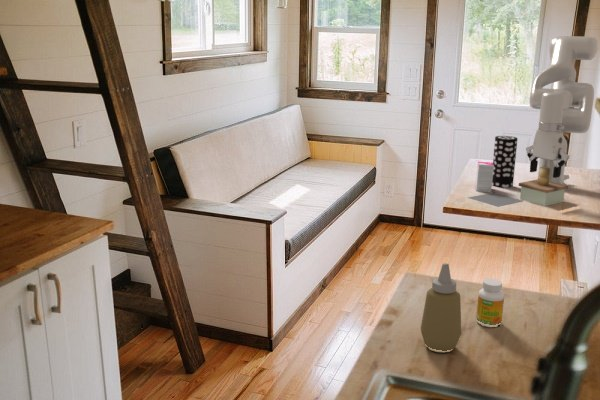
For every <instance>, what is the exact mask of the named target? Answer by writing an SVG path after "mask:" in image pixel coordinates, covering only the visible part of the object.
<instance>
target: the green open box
mask: <svg viewBox="0 0 600 400" xmlns="http://www.w3.org/2000/svg"><path fill="white" fill-rule="evenodd" d="M565 191H566V189H563V190H559V191H554V192H549V193H545V192H541V191H537V190H533V189H529V188H525V187H521V186H520V197H519V200H522V201H523V202H524V201H525V202H528V203H532V204H535V205H540V206H543V207H548V206H552V205H555V204H560V203H564V200H565Z"/></svg>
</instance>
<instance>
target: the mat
mask: <svg viewBox="0 0 600 400" xmlns="http://www.w3.org/2000/svg"><path fill="white" fill-rule="evenodd" d="M467 199H470V200H474V201H478V202H481V203H484V204H487V205H491V206H495V207H497V208H498V207H503V206H508V205H511V204H512V205H513V204H517V203H521V202H523V200H521V199H520V198H519V199H518V198H515V197H511V196H508V195H503V194H501V193H496V192H487V193H483V194H479V195H473V196H469V197H467Z"/></svg>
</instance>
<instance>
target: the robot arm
mask: <svg viewBox="0 0 600 400" xmlns="http://www.w3.org/2000/svg"><path fill="white" fill-rule="evenodd" d="M598 48H599V44H598V40H597V38H596V37H595V36H582V35H581V36H580V35H579V36H575V35H574V36H573V35H570V36H569V35H567V36H566V35H564V36H563V35H562V36H556V37H554V38H552V39H551V40H550V42H549V59H550V63H549V67H546V68H545V69H544V70H543V71H541V72H540V73H539V74H538V75H537V76H536V77H535V78H534V81H533V82H532V86H531V88H530V89H531V91H530V95H529V104H530V107H531V108H532V109H535V110H540V112H539V119H538V120H539V121H538V128H537V129H536V132H535V134H534V138H533V145H529V146H527V147H525V150H526V155H527V158H528V159H529V162H530V166H529V172H530V173H536V172H537V171H538V173H537V179H539V171H540V167H548V168H550V177H549V181H550V182H555V183H559V184H563V185H567V183H565V182H564V181H566V180H569V179H570V175H569V174H565V167H566V164H567V162H568V160H569V159H570V155H569V154H567V151H568V141H567V139H566V138H565V136H564V133H570V134H586V133H588V131H589V129H590V127H591V120H592V113H593V106H594V98H595V88H594V87H593V85H592V84H591V83H587V82H576V78H577V71H576V70H577V69H576V68H575V63H576V60H579V61H580V60H581V61H592V60H593V59H594V58H595V57H596V54H597V52H598ZM549 85H550V88H544V87H545V86H549ZM538 159H539V162H538Z"/></svg>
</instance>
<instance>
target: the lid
mask: <svg viewBox="0 0 600 400" xmlns="http://www.w3.org/2000/svg"><path fill="white" fill-rule="evenodd" d="M538 172H539V179H538V178H537V179H533V180H528V181H523V182H519V183H518V186H519V187H520V188H521V187H525V188H529V189H533V190H537V191H541V192H545V193H549V192H554V191H559V190H563V189H565V190H567V189H568V188H569V185H567V184H566V185H563V184H559V183H555V182H550V181H549V177H550V168H548V167H540V171H539V170H538Z"/></svg>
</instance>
